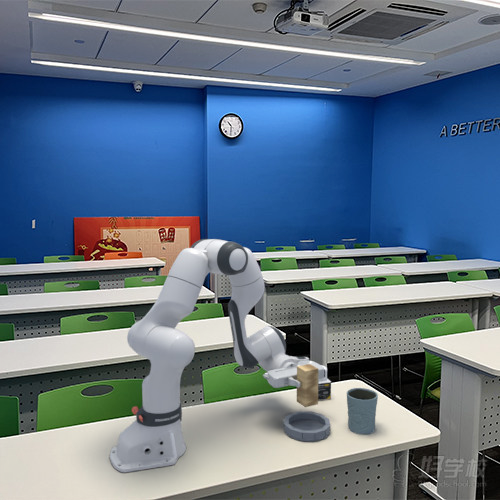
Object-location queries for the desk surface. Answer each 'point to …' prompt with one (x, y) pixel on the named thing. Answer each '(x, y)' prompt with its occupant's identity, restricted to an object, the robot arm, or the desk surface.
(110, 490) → the desk surface
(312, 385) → the oak block
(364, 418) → the blue-grey cup
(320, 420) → the bowl
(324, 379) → the medicine bottle
